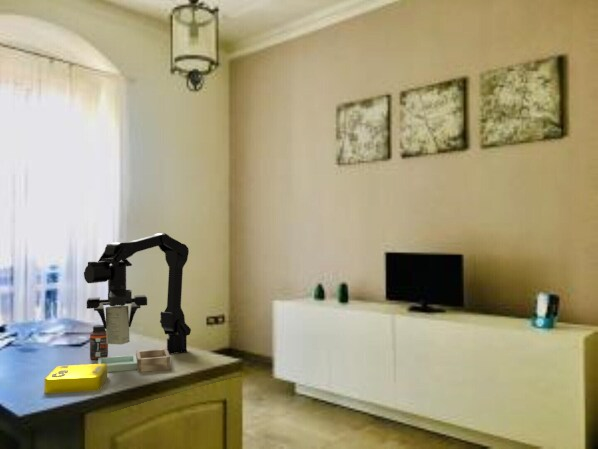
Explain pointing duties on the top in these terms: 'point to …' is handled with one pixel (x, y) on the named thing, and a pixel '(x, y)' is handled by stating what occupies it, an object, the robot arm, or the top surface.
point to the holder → (152, 360)
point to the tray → (119, 362)
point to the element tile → (76, 378)
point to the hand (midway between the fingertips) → (117, 327)
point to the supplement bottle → (98, 342)
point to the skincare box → (117, 324)
